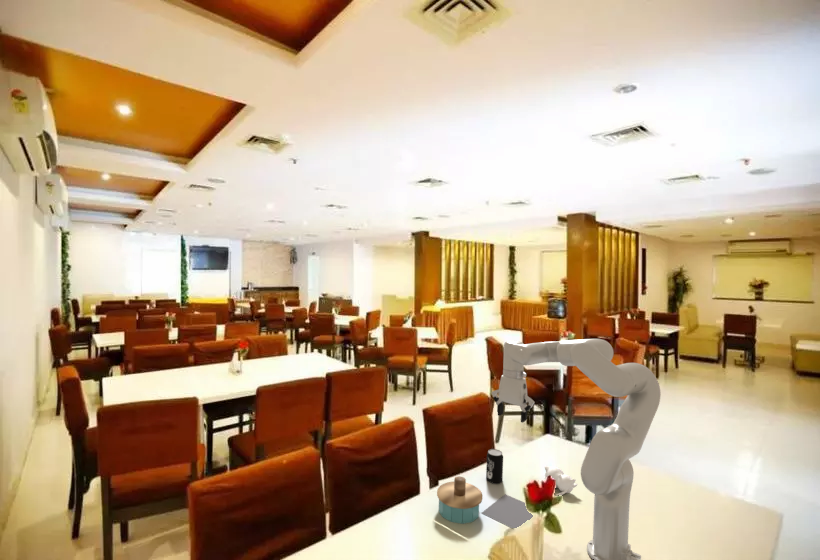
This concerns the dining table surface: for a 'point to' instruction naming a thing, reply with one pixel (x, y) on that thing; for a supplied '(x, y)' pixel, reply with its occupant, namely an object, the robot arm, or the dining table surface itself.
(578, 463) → the dining table surface
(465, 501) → the lid
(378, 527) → the dining table surface
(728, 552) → the dining table surface
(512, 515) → the mat
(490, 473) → the beverage can
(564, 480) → the cat figurine
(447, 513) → the bowl
